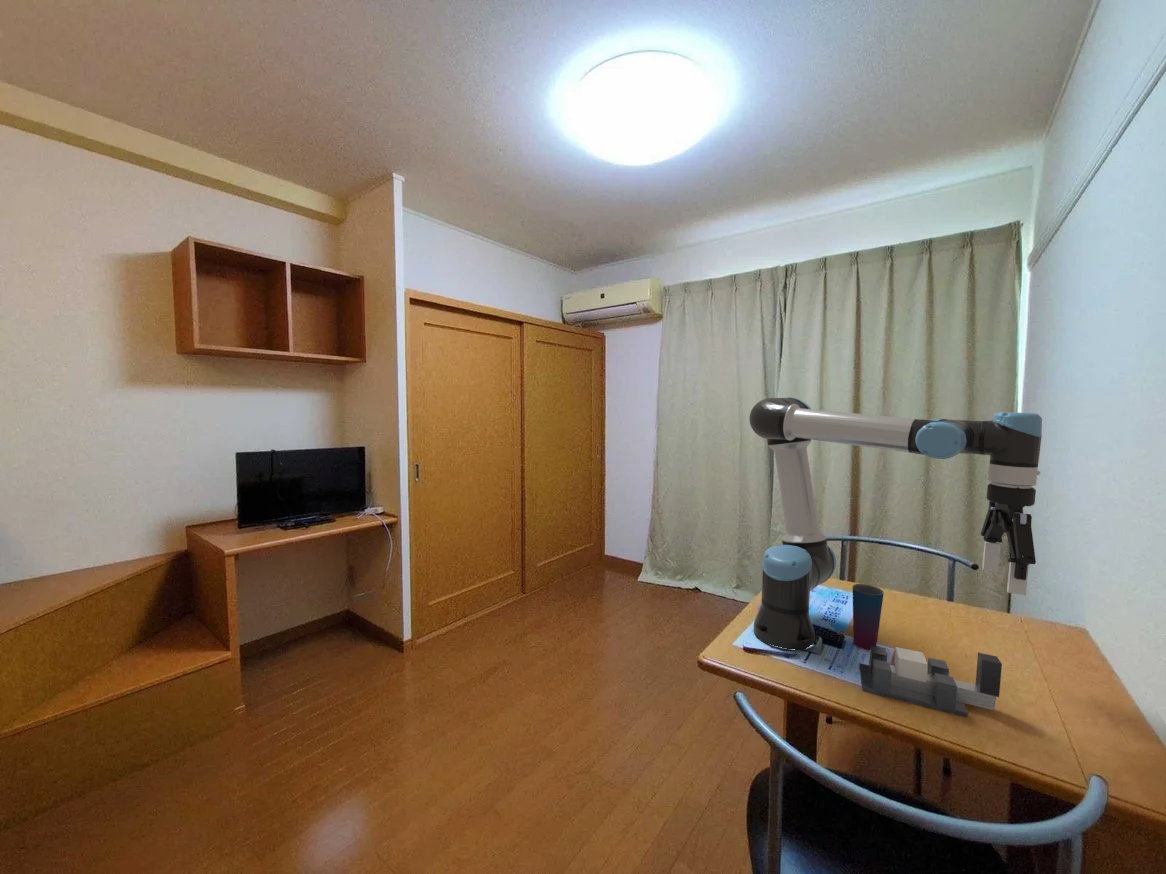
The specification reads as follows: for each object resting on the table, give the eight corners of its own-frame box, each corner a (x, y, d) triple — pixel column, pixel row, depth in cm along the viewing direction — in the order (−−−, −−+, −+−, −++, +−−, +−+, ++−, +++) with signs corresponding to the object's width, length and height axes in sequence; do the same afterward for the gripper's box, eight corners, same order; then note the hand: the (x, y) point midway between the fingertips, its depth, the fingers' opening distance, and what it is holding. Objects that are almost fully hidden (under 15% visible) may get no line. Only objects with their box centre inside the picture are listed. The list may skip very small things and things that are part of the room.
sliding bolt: (877, 681, 101) (879, 638, 100) (875, 674, 103) (878, 632, 102) (997, 711, 91) (1001, 663, 90) (992, 702, 94) (996, 656, 93)
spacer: (897, 675, 98) (898, 657, 98) (894, 663, 102) (895, 646, 102) (926, 682, 96) (927, 664, 95) (921, 670, 100) (922, 652, 100)
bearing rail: (862, 690, 99) (863, 664, 99) (859, 666, 108) (860, 642, 107) (967, 717, 91) (969, 689, 90) (954, 689, 100) (956, 663, 99)
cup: (885, 653, 114) (888, 595, 112) (855, 650, 115) (858, 593, 114) (873, 639, 120) (876, 585, 119) (845, 636, 122) (848, 582, 120)
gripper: (1066, 498, 84) (1055, 608, 86) (1009, 477, 106) (1001, 564, 108) (1013, 494, 87) (1003, 600, 89) (968, 474, 109) (961, 559, 111)
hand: (1002, 581), depth 98 cm, fingers open, 13 cm apart
